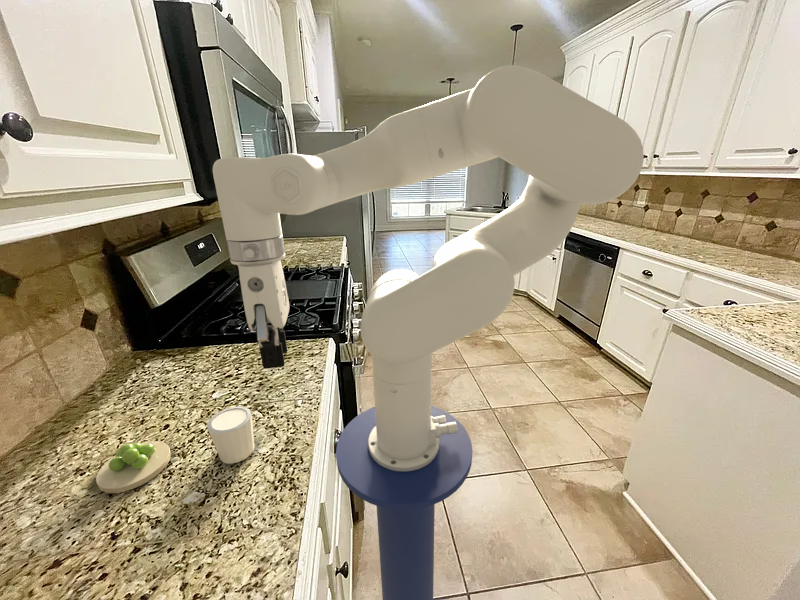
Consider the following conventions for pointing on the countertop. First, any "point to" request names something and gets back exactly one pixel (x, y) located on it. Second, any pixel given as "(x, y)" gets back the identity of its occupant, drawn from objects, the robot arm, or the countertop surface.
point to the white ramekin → (232, 434)
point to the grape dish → (133, 474)
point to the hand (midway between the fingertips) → (275, 359)
